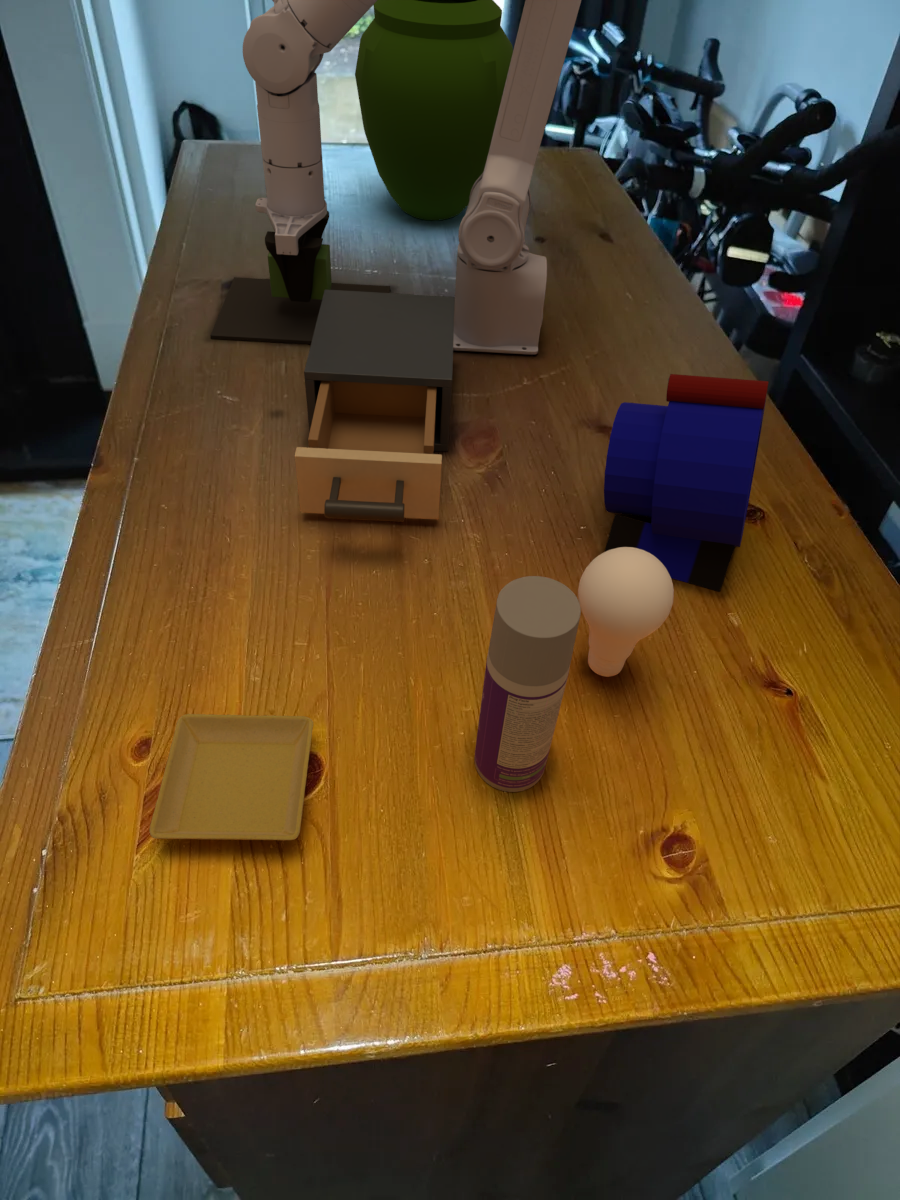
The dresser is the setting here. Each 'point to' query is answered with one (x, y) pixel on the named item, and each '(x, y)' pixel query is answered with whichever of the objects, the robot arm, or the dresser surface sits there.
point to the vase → (432, 98)
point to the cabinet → (384, 346)
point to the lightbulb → (622, 604)
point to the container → (525, 680)
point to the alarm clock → (686, 474)
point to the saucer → (234, 778)
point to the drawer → (371, 453)
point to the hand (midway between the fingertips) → (303, 290)
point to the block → (319, 277)
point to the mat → (271, 313)
